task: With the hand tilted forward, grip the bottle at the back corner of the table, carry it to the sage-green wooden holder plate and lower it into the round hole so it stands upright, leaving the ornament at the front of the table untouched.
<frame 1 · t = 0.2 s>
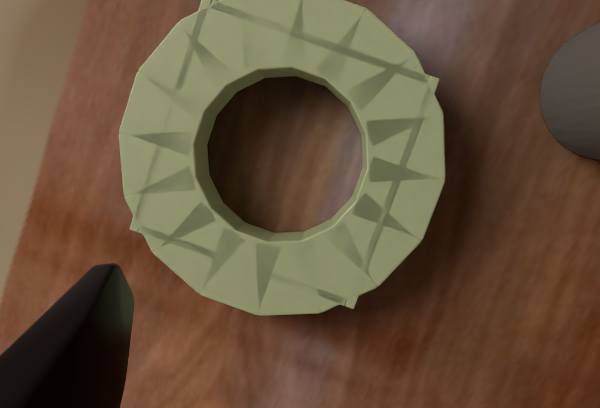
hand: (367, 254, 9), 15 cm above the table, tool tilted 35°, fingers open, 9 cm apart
holder: (284, 155, 24), on the table
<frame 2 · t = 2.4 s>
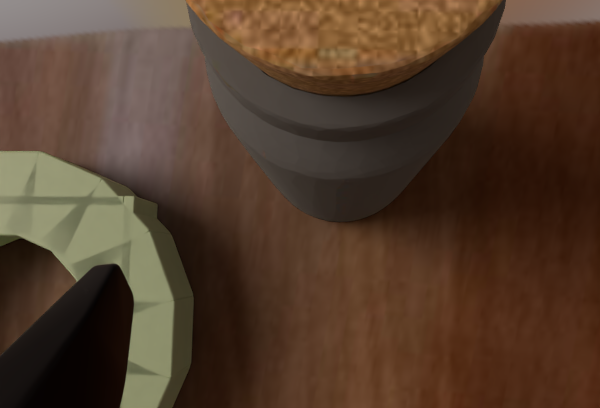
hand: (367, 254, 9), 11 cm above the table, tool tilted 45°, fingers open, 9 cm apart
bottle: (340, 151, 22), on the table
holder: (31, 325, 21), on the table
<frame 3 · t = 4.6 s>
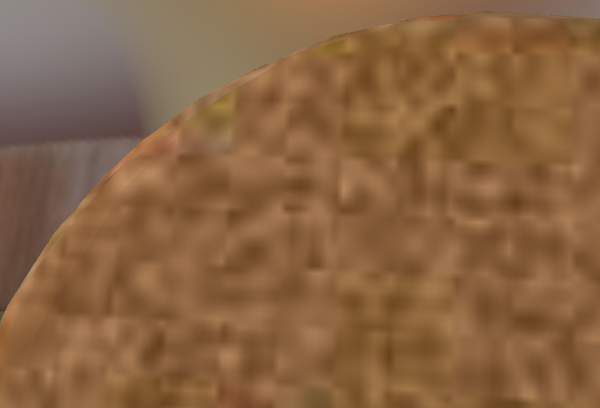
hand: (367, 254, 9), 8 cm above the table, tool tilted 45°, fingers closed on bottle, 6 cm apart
bottle: (358, 300, 17), on the table, touching gripper
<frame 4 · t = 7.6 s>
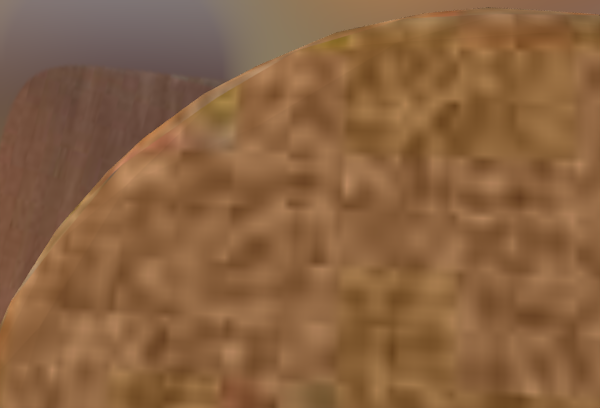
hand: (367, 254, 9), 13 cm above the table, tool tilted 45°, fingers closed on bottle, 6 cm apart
bottle: (359, 300, 17), point 5 cm above the table, touching gripper
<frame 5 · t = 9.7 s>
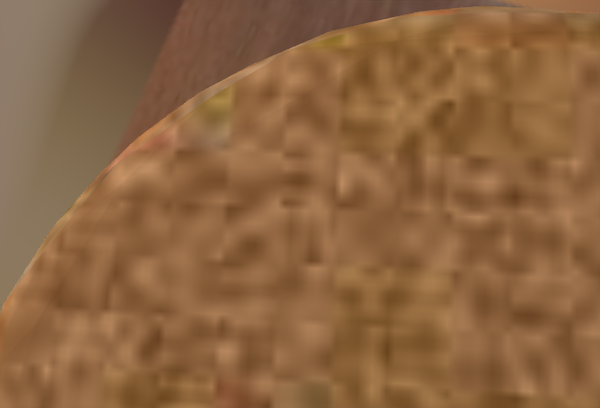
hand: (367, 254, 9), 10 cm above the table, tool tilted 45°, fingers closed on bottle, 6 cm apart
bottle: (358, 300, 17), point 3 cm above the table, touching gripper
when the fingers open (8 cm above the table, at t = 11.1 s): bottle stays where it is, resting in holder.
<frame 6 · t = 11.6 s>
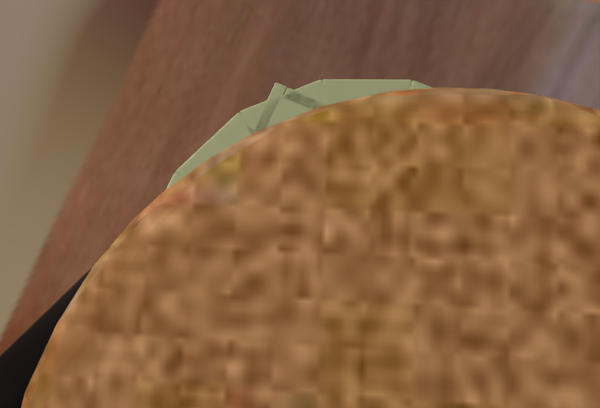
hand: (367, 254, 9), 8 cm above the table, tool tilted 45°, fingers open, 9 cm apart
bottle: (359, 304, 18), resting in holder
holder: (359, 301, 17), on the table
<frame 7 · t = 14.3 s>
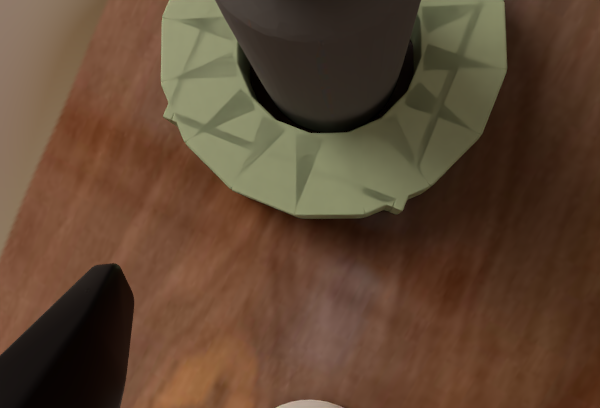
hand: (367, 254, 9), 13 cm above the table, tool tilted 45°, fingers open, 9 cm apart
bottle: (331, 68, 23), resting in holder
holder: (330, 64, 23), on the table
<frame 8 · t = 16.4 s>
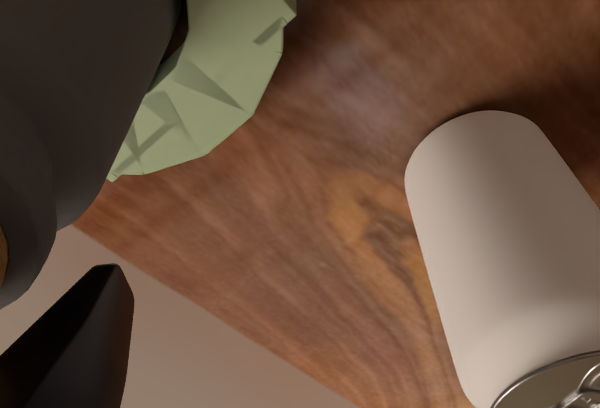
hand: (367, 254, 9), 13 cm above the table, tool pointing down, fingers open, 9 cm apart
can: (472, 165, 24), on the table
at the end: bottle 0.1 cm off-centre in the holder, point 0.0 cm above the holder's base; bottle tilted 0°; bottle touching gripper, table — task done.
